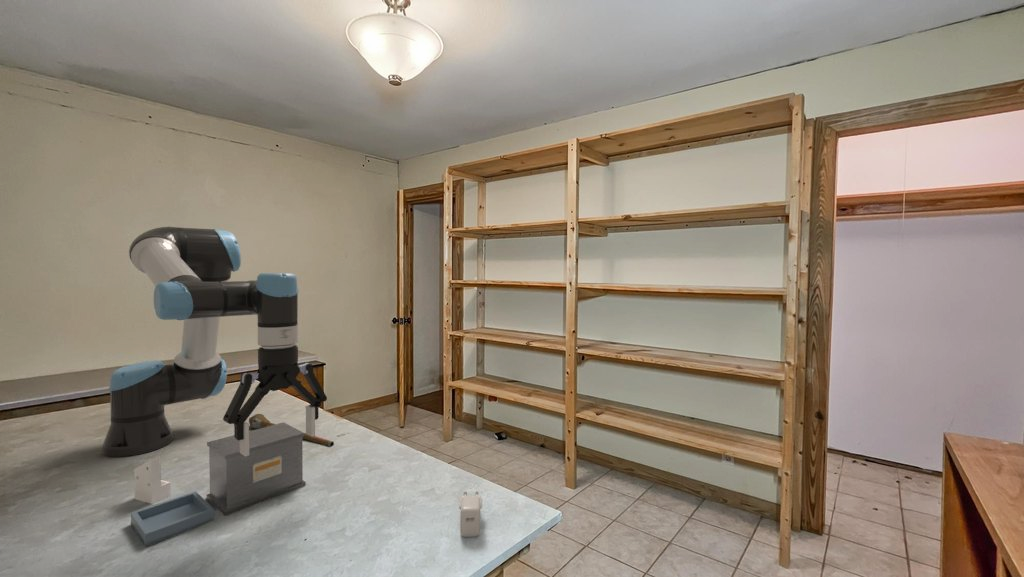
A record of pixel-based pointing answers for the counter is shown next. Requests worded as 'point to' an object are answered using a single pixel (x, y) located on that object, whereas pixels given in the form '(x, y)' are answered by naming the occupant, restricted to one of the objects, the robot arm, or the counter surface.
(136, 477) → the white wedge bracket
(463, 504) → the power adapter
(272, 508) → the counter surface
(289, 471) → the box
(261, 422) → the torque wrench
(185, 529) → the tray
